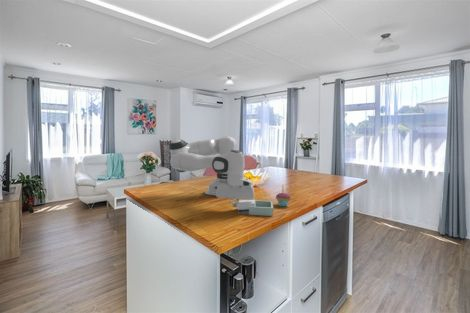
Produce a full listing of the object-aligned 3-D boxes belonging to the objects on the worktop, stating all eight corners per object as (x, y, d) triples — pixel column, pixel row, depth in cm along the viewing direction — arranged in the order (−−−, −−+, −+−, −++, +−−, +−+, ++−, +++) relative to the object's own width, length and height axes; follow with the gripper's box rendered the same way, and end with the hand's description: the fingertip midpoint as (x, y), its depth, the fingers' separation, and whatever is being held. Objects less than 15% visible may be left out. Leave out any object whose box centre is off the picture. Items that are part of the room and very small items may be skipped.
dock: (237, 215, 121) (237, 206, 120) (239, 208, 134) (239, 199, 133) (272, 217, 119) (273, 208, 118) (272, 210, 131) (272, 201, 131)
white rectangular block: (237, 212, 123) (237, 204, 123) (239, 208, 130) (238, 200, 130) (255, 211, 122) (254, 203, 122) (255, 207, 129) (255, 199, 129)
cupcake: (274, 203, 142) (274, 183, 141) (287, 203, 143) (288, 183, 142) (277, 207, 133) (278, 186, 132) (292, 207, 134) (293, 186, 133)
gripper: (215, 180, 124) (214, 206, 125) (254, 183, 121) (253, 209, 123) (217, 178, 130) (216, 203, 131) (255, 181, 128) (254, 206, 129)
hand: (234, 206), depth 127 cm, fingers closed
